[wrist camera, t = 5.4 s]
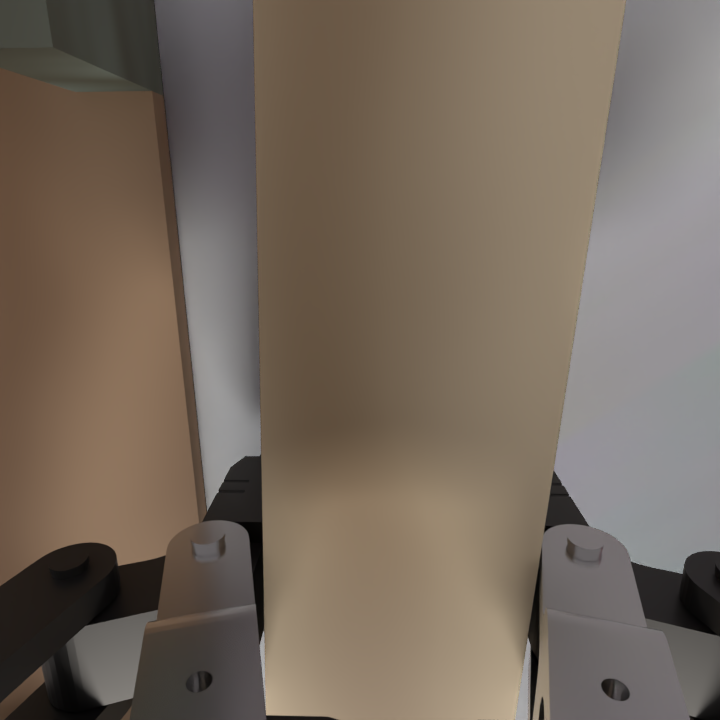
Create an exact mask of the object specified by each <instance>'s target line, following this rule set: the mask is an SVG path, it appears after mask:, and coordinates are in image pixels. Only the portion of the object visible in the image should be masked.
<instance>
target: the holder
mask: <svg viewBox="0 0 720 720" xmlns="http://www.w3.org/2000/svg"><path fill="white" fill-rule="evenodd" d="M206 513H207V511H206V501H205V491H204V482H203V472H202V462H201V453H200V443H199V433H198V424H197V414H196V404H195V395H194V385H193V375H192V366H191V356H190V347H189V337H188V327H187V318H186V308H185V298H184V289H183V279H182V269H181V260H180V250H179V240H178V231H177V221H176V211H175V202H174V192H173V182H172V173H171V163H170V153H169V144H168V134H167V124H166V115H165V105H164V95H163V86H162V76H161V66H160V57H159V47H158V37H157V28H156V18H155V9H154V0H0V586H1V585H2V584H4V583H5V582H7V581H8V580H10V579H11V578H12V577H14V576H15V575H17V574H18V573H20V572H21V571H23V570H24V569H25V568H27V567H28V566H30V565H31V564H33V563H34V562H35V561H37V560H38V559H40V558H41V557H43V556H45V555H46V554H48V553H50V552H52V551H55V550H57V549H60V548H63V547H66V546H69V545H73V544H79V543H89V542H92V543H101V544H105V545H108V546H109V547H111V548H112V549H113V550H114V551H115V553H116V555H117V562H118V566H120V565H125V564H131V563H136V562H141V561H146V560H151V559H155V558H159V557H162V556H165V555H166V550H167V546H168V544H169V542H170V540H171V539H172V538H173V537H174V536H175V535H176V534H178V533H179V532H180V531H182V530H183V529H185V528H187V527H189V526H192V525H195V524H198V523H201V522H202V521H203V519H204V517H205V515H206ZM44 682H45V680H44V676H43V671H42V667H39V668H38V669H37V670H36V671H35V672H34V673H33V674H32V675H31V676H29V677H28V678H27V679H26V680H25V681H24V682H23V683H22V684H21V685H20V686H18V687H17V688H16V689H15V690H14V691H13V692H12V693H11V694H10V695H8V696H7V697H6V698H5V699H4V700H3V701H2V702H1V703H0V720H4V719H5V718H7V717H8V716H9V715H10V714H11V713H12V712H13V711H14V710H15V709H16V708H17V707H18V706H19V705H20V704H21V703H23V702H24V701H25V700H26V699H27V698H28V697H29V696H30V695H31V694H32V693H33V692H34V691H35V690H36V689H37V688H39V687H40V686H41V685H42V684H43V683H44ZM131 707H132V706H131ZM131 707H130V709H129V710H128V712H127V713H126V714H125V715H124V716H123V718H122V719H121V720H129V719H130V713H131Z"/></svg>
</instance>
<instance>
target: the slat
mask: <svg viewBox="0 0 720 720" xmlns="http://www.w3.org/2000/svg"><path fill="white" fill-rule="evenodd" d="M625 5H626V0H253V31H254V86H255V140H256V195H257V250H258V304H259V359H260V413H261V468H262V523H263V577H264V632H265V686H266V715H278V716H325V717H331V718H334V719H338V720H515V715H516V709H517V703H518V696H519V690H520V683H521V677H522V670H523V664H524V657H525V651H526V644H527V638H528V631H529V625H530V619H531V612H532V606H533V599H534V593H535V586H536V580H537V573H538V567H539V560H540V554H541V548H542V541H543V535H544V528H545V522H546V515H547V509H548V502H549V496H550V489H551V483H552V476H553V470H554V464H555V457H556V451H557V444H558V438H559V431H560V425H561V418H562V412H563V405H564V399H565V392H566V386H567V380H568V373H569V367H570V360H571V354H572V347H573V341H574V334H575V328H576V321H577V315H578V309H579V302H580V296H581V289H582V283H583V276H584V270H585V263H586V257H587V250H588V244H589V237H590V231H591V225H592V218H593V212H594V205H595V199H596V192H597V186H598V179H599V173H600V166H601V160H602V153H603V147H604V141H605V134H606V128H607V121H608V115H609V108H610V102H611V95H612V89H613V82H614V76H615V70H616V63H617V57H618V50H619V44H620V37H621V31H622V24H623V18H624V11H625Z"/></svg>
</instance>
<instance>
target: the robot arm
mask: <svg viewBox="0 0 720 720" xmlns="http://www.w3.org/2000/svg"><path fill="white" fill-rule="evenodd" d="M263 631H264V577H263V523H262V468H261V455H260V456H245V457H244V458H243V459H241V460H240V461H239V462H237V463H236V464H234V465H233V466H232V467H231V468H230V470H229V472H228V474H227V475H226V477H225V479H224V482H223V483H222V485H221V487H220V489H219V493H217V494H216V496H215V498H214V500H213V502H212V504H211V506H210V508H209V510H208V511H207V513H206V515H205V517H204V519H203V521H202V522H201V523H198V524H195V525H192V526H189V527H187V528H185V529H183V530H182V531H180V532H179V533H178V534H176V535H175V536H174V537H173V538H172V539H171V540H170V542H169V544H168V546H167V550H166V555H165V556H162V557H159V558H155V559H151V560H146V561H141V562H136V563H131V564H125V565H120V566H118V562H117V555H116V553H115V551H114V550H113V549H112V548H111V547H109V546H108V545H105V544H101V543H92V542H89V543H79V544H73V545H69V546H66V547H63V548H60V549H57V550H55V551H52V552H50V553H48V554H46V555H45V556H43V557H41V558H40V559H38V560H37V561H35V562H34V563H33V564H31V565H30V566H28V567H27V568H25V569H24V570H23V571H21V572H20V573H18V574H17V575H15V576H14V577H12V578H11V579H10V580H8V581H7V582H5V583H4V584H2V585H1V586H0V703H1V702H2V701H3V700H4V699H5V698H6V697H7V696H8V695H10V694H11V693H12V692H13V691H14V690H15V689H16V688H17V687H18V686H20V685H21V684H22V683H23V682H24V681H25V680H26V679H27V678H28V677H29V676H31V675H32V674H33V673H34V672H35V671H36V670H37V669H38V668H39V667H42V671H43V676H44V680H45V682H44V683H43V684H42V685H41V686H40V687H39V688H37V689H36V690H35V691H34V692H33V693H32V694H31V695H30V696H29V697H28V698H27V699H26V700H25V701H24V702H23V703H21V704H20V705H19V706H18V707H17V708H16V709H15V710H14V711H13V712H12V713H11V714H10V715H9V716H8V717H7V718H5V719H4V720H121V719H122V718H123V716H124V715H125V714H126V713H127V712H128V710H129V709H130V707H131V706H132V707H131V713H130V719H129V720H338V719H334V718H331V717H325V716H278V715H266V710H265V699H264V688H263V678H262V667H261V656H260V641H261V637H262V633H263ZM528 638H529V641H530V644H531V649H530V658H529V671H528V720H720V552H714V551H703V552H697V553H694V554H692V555H690V556H689V557H688V558H687V559H686V561H685V564H684V569H683V574H680V573H675V572H670V571H665V570H661V569H656V568H651V567H647V566H643V565H639V564H636V563H633V562H631V561H630V557H629V554H628V551H627V549H626V548H625V547H624V545H623V544H622V543H621V542H620V541H618V540H617V539H616V538H614V537H613V536H611V535H610V534H608V533H606V532H603V531H601V530H598V529H596V528H592V527H589V525H588V524H587V522H586V521H585V519H584V517H583V516H582V514H581V513H580V511H579V510H578V508H577V506H576V505H575V503H574V502H573V500H572V499H571V497H569V494H568V492H567V491H566V489H565V488H564V486H562V483H561V481H560V480H559V478H558V477H557V475H556V473H555V472H554V470H553V476H552V483H551V489H550V496H549V502H548V509H547V515H546V522H545V528H544V535H543V541H542V548H541V554H540V560H539V567H538V573H537V580H536V586H535V593H534V599H533V606H532V612H531V619H530V625H529V631H528Z"/></svg>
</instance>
